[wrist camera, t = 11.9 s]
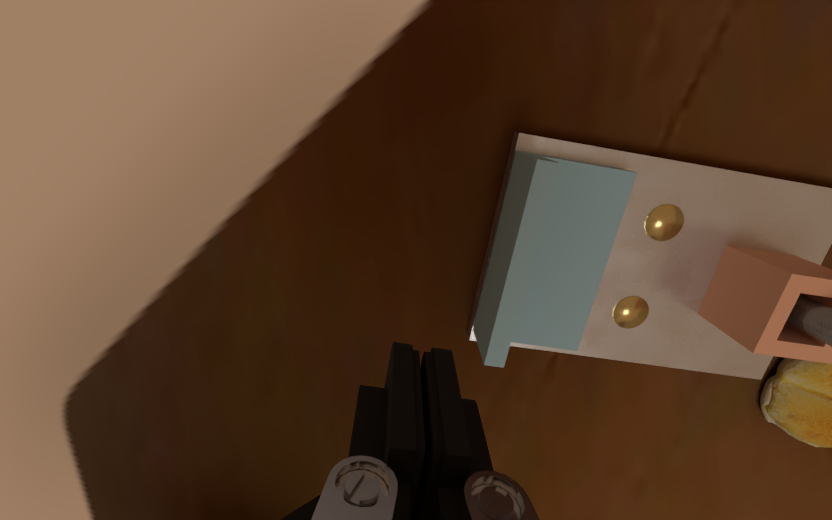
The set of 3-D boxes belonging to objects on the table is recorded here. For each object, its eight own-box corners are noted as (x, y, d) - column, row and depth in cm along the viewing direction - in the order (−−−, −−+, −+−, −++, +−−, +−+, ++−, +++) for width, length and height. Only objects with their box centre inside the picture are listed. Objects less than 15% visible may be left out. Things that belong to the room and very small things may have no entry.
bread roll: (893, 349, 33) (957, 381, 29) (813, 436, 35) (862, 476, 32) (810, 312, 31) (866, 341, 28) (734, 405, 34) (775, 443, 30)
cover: (473, 329, 29) (484, 365, 25) (516, 150, 25) (537, 159, 21) (571, 343, 30) (597, 379, 26) (629, 170, 26) (669, 182, 22)
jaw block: (697, 313, 29) (752, 353, 25) (726, 245, 28) (791, 273, 23) (764, 323, 30) (831, 363, 25) (796, 256, 28) (875, 286, 24)
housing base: (466, 331, 31) (488, 407, 23) (514, 131, 26) (560, 142, 18) (748, 370, 33) (855, 452, 25) (839, 189, 28) (1005, 221, 20)
